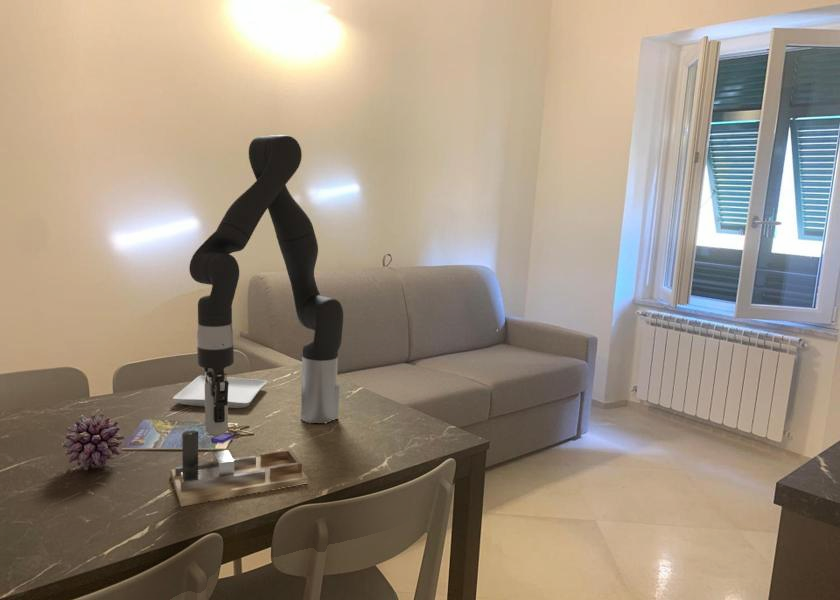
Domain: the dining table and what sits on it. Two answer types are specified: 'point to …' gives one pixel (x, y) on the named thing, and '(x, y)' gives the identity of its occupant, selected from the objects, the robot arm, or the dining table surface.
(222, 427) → the beverage can
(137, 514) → the dining table surface
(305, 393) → the robot arm
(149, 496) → the dining table surface
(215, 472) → the press block
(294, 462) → the wooden tray
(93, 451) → the flower
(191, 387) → the salad plate
